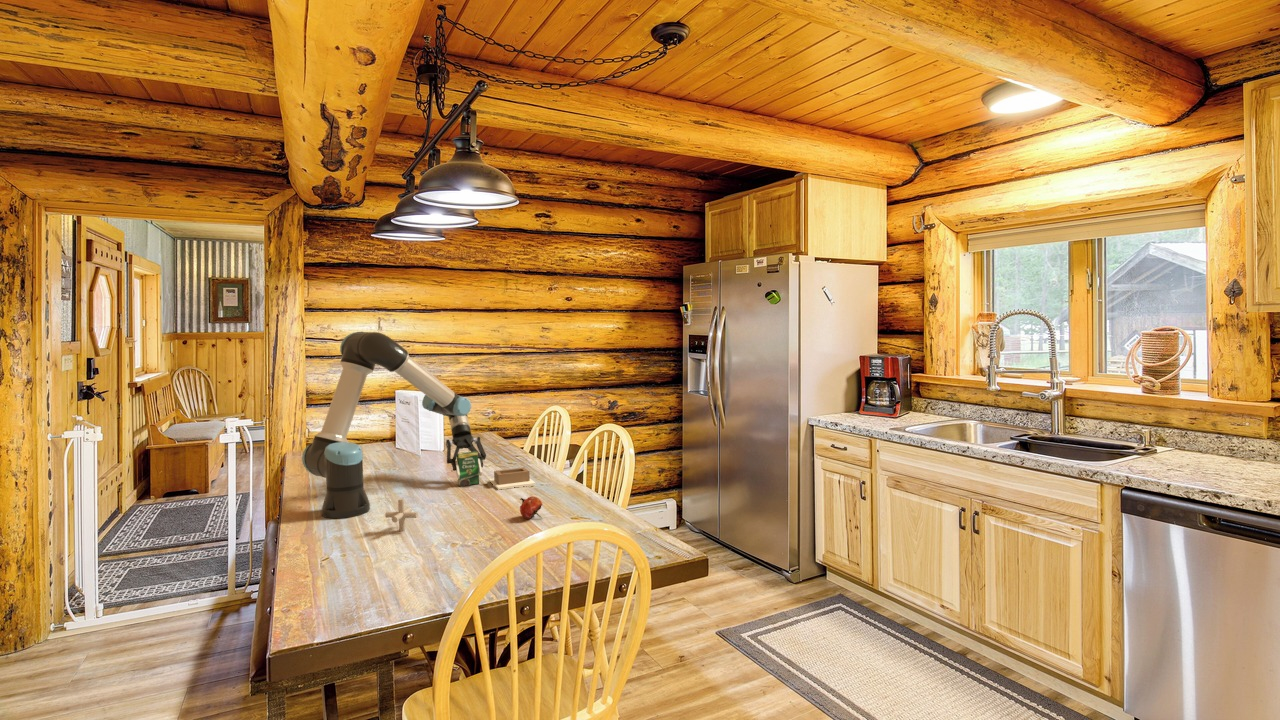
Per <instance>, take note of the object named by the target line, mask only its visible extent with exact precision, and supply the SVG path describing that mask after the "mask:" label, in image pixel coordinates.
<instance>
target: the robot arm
mask: <svg viewBox="0 0 1280 720" xmlns="http://www.w3.org/2000/svg"><path fill="white" fill-rule="evenodd" d="M339 351H340V354H341V359H340V362H339V363H340V365H341V368H342V371H341V373H340V376H339V379H338V382H337V384H336V388H335V389H334V390H335V391H334V394H333V396H332V398H331V399H332V400H331V403H330V405H329V408H328V411H327V415H326V417H325V420H324V423H323V425H322V429H321V431H320V432H318V433H317V434H315V435H314V438H313V439H312V442H311V443H310V444H309V445H307V446H306V447H305V448H304V450H303V452H302V456H301V463H302V465H303V467H304V468H305V470H306V471H307V472H309V473H310V474H312V475H314V476H316V477H322V478H325V483H326V486H325V487H326V493H325V496H324V500H323V503H322V506H321V516H322V517H324V518H326V519H327V518H328V519H345V518H352V517H357V516H361V515H364V514H365V513H367V512H369V511H370V510H371V503H370V500H369V498H368V496H367V493H366V490H365V488H364V487H365V486H364V464H363V463H364V460H363V458H364V455H363V450H362V447H361V446H360V445H359V444H358V443H355V442H349V440H348V439H347V436H348V433H349V431H350V429H351V428H350V427H351V424H352V422H353V419H354V416H355V412H356V409H357V406H358V403H359V402H360V398H361V395H362V391H363V388H364V385H365V384H366V383H365V382H366V380H367V377H368V375H369V374H372V373H373V372H374V369H375V367H376V366H380V367H383V368H384V369H386V370H387V371H389V372H391V373H396V374H397V375H399V376H400V377H401V378H402V379H404V380H406V382H408V383H410V384H411V385H412V386H413V387H415V389H417V390H418V391H419V392H421V393H423V394H424V395H423V398H422V402H421V405H422V407H423V409H425V410H427V411H428V412H433V413H436V414H439V415H442V416H445V417H448V420H449V426H450V429H451V436H452V439H450V440H449V439H447V440H446V442H445V446H446V449H447V450H446V464H450V465H451V466H452V470H453V472H455V473H456V478H457V480H458V479H459V478H460V471H459V466H458V461H457V454H458V453H459V451H460V450H463V449H468V450H469V452H473V451H477V452H478V467H479V477H481V476H483V469H482V468H484V460H486V458H487V453H486V451H485V448H484V447H483V444H482V442H481V437H480V436H477V437H474V436H473V435H472V429H471V426H470V425H471V424H470V421H469V416H468V415H469V413H470V412H471V410H472V409H471V408H472V403H471V401H470V399H469V398H467V397H464V396H461V395H458V394H457V393H456V392H455V391H454V390H452V388H449V387H448V386H447V385H446V384H445V383H443V382H442V381H441V380H440V379H438V378H437V377H436V376H434V375H433V374H432V373H431V372H429V371H428V370H427V369H426V368H425V367H424V366H422V365H421V364H420V363H418V362H417V361H416V360H415V359H414V358H412V357H411V356H409V351H407V349H405V348H404V347H403V346H401V345H400V344H399V343H398V342H397V341H396V340H394V339H393V338H391V337H389V336H388V335H386V334H385V333H382V332H378V331H372V332H371V331H357V332H352V333H349V334H347V335H346V336H345V337H344V338H343V339H342V341H341V343H340V348H339ZM473 442H474V444H475V445H476V447H477V448H476V447H475V446H474V444H473ZM453 444H454V446H455V450H454V454H453V457H452V458H451V453H452V445H453Z"/></svg>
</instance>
